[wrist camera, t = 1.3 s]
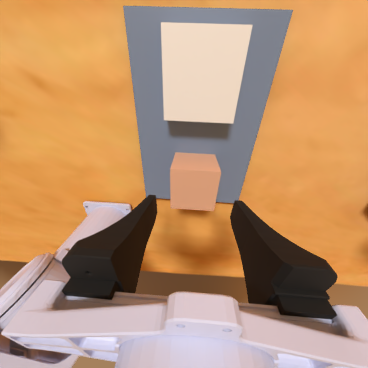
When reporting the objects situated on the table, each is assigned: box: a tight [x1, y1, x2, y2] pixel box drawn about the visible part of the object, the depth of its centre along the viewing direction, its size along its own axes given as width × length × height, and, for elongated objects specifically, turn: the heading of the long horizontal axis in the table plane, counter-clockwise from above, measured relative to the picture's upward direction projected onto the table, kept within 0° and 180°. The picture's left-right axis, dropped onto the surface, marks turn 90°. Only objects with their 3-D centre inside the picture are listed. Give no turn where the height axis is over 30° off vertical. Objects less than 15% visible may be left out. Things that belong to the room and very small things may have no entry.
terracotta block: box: [170, 152, 221, 211], centre depth 18 cm, size 5×5×5 cm
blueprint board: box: [123, 6, 293, 203], centre depth 17 cm, size 20×14×3 cm
